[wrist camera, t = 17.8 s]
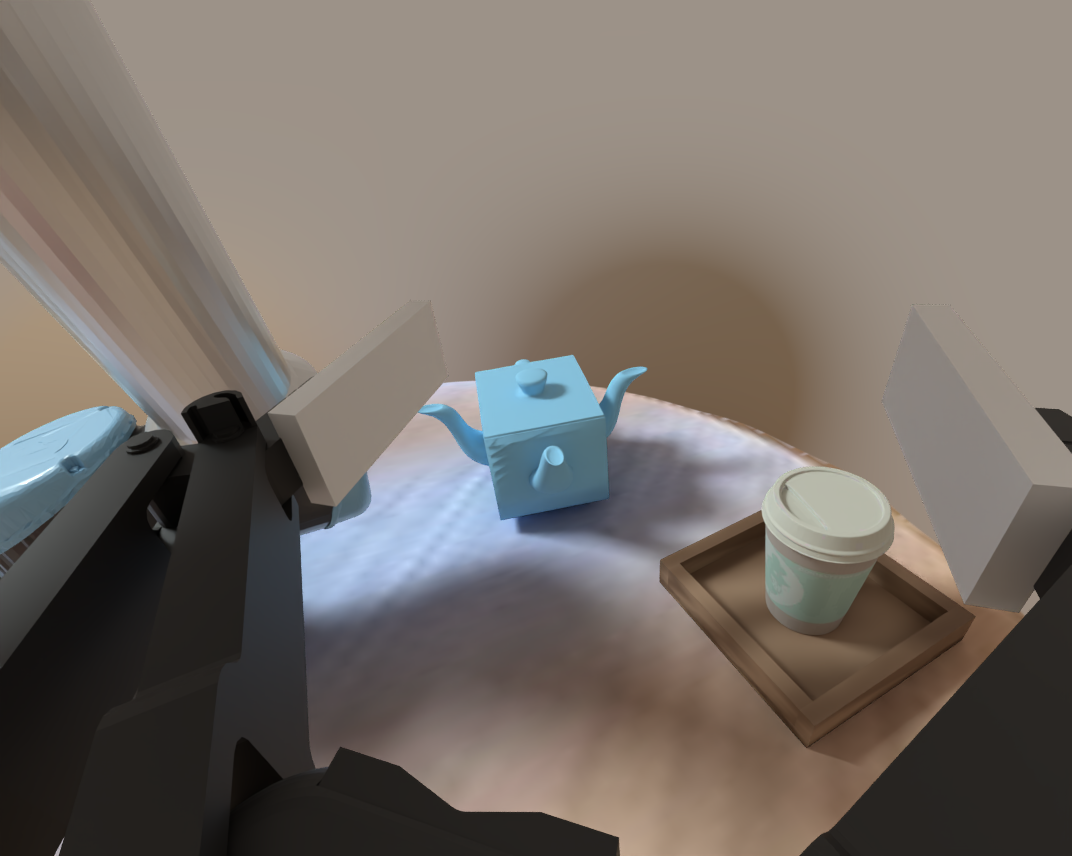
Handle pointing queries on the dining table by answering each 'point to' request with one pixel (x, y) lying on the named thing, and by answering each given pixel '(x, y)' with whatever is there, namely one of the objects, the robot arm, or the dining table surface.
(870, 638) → the wooden tray
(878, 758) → the dining table surface
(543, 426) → the teakettle
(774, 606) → the coffee cup
